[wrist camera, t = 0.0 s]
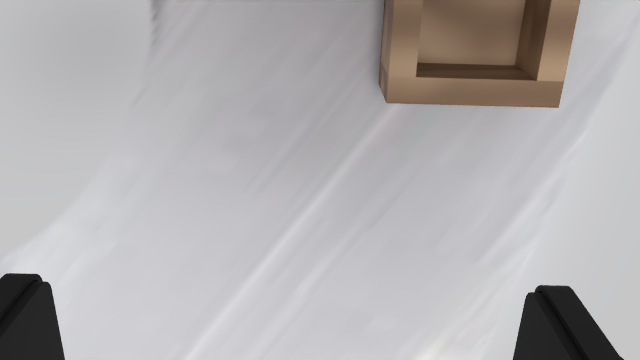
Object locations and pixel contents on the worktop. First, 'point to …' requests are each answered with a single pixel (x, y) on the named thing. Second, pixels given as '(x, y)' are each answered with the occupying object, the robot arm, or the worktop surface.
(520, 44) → the holder
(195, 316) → the worktop surface
